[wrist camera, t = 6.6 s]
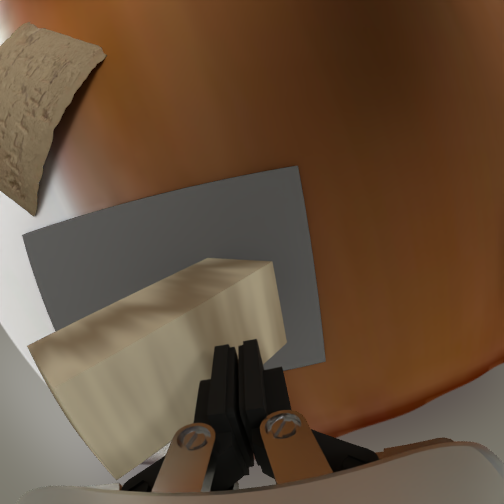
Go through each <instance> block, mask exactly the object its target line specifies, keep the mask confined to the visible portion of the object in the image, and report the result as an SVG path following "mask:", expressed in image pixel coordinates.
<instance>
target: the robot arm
mask: <svg viewBox="0 0 504 504" xmlns="http://www.w3.org/2000/svg"><path fill="white" fill-rule="evenodd" d="M253 453H254V456H255V459H256V461H257V464H258V465H260V466H261V469H262V472H263V473H264V474H266V475H268V476H270V477H272V478H274V479H275V481H276V485H269V486H262V487H255V488H247V489H239V483H238V480H240V479H241V478H242V477H243V476H244V475H249V467H252V466H254V457H253ZM16 504H504V463H503V462H502V461H501V460H500V458H499V457H498V456H497V455H495V454H494V453H493V452H492V451H490V449H488V448H487V447H485V446H483V445H481V444H479V443H475V442H467V441H466V442H465V441H457V442H454V441H453V440H451V439H448V438H436V439H432V440H428V441H423V442H418V443H413V444H408V445H402V446H397V447H391V448H384V452H377V453H374V452H373V451H371V450H369V449H367V448H363V447H360V446H357V445H354V444H351V443H348V442H345V441H342V440H339V439H336V438H334V437H331V436H328V435H325V434H323V433H320V432H317V431H315V430H312V429H310V427H309V425H308V423H307V421H306V419H305V418H304V416H303V415H302V414H300V413H299V412H297V411H293V410H291V406H290V401H289V397H288V392H287V387H286V383H285V378H284V373H283V369H282V366H281V367H277V368H272V369H267V370H264V367H263V362H262V358H261V354H260V350H259V345H258V341H257V339H253V340H247V341H243V345H240V346H238V356H237V353H236V349H235V347H230V346H229V344H226V345H220V346H215V347H214V355H213V364H212V373H211V379H207V380H201V381H200V383H199V389H198V396H197V402H196V409H195V416H194V422H193V423H192V424H189V425H186V426H184V427H182V428H180V429H179V430H178V431H177V432H176V433H175V435H174V437H173V439H172V441H171V444H170V446H169V449H168V451H167V454H166V456H164V457H163V458H161V459H160V460H158V461H157V462H155V463H154V464H152V465H151V466H149V467H148V468H146V469H145V470H143V471H142V472H140V473H139V474H137V475H136V476H134V477H132V478H131V479H129V480H128V481H127V482H126V483H125V484H124V485H121V484H120V483H113V484H104V485H92V486H77V487H76V486H48V487H41V488H36V489H33V490H30V491H28V492H26V493H25V494H24V495H22V496H21V497H20V499H19V500H18V501H17V502H16Z"/></svg>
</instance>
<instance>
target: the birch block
mask: <svg viewBox="0 0 504 504" xmlns="http://www.w3.org/2000/svg"><path fill="white" fill-rule="evenodd" d="M253 339H257V341H258V345H259V350H260V354H261V358H262V362H263V364H264V363H265V362H266V361H268V360H269V359H270V358H271V357H272V356H273V355H274V354H275V353H276V352H277V351H278V350H280V349H281V348H282V347H283V346H284V345H285V344H286V343H287V340H286V334H285V329H284V323H283V317H282V312H281V306H280V301H279V295H278V289H277V284H276V278H275V273H274V268H273V262H272V261H255V260H236V259H218V258H206V259H204V260H202V261H200V262H198V263H196V264H194V265H192V266H189V267H187V268H185V269H183V270H181V271H179V272H177V273H175V274H173V275H171V276H169V277H166V278H164V279H162V280H160V281H158V282H156V283H154V284H152V285H150V286H148V287H146V288H144V289H142V290H140V291H137V292H135V293H133V294H131V295H129V296H127V297H125V298H123V299H121V300H119V301H117V302H115V303H113V304H111V305H109V306H107V307H105V308H103V309H101V310H98V311H96V312H94V313H92V314H90V315H88V316H86V317H84V318H82V319H80V320H78V321H76V322H74V323H72V324H70V325H68V326H66V327H64V328H62V329H60V330H58V331H56V332H54V333H52V334H50V335H48V336H46V337H44V338H42V339H40V340H38V341H36V342H34V343H32V344H30V345H28V346H27V347H28V349H29V351H30V353H31V355H32V357H33V359H34V361H35V363H36V365H37V367H38V369H39V371H40V373H41V374H42V376H43V378H44V380H45V382H46V384H47V385H48V387H49V389H50V391H51V392H52V394H53V396H54V398H55V399H56V401H57V402H58V404H59V406H60V407H61V409H62V411H63V412H64V414H65V415H66V417H67V418H68V420H69V422H70V423H71V425H72V426H73V428H74V429H75V430H76V432H77V433H78V434H79V436H80V437H81V438H82V439H83V441H84V442H85V443H86V445H87V446H88V447H89V448H90V450H91V451H92V452H93V454H94V455H95V456H96V457H97V458H98V460H99V461H100V462H101V463H102V464H103V465H104V467H105V468H106V469H107V470H108V471H109V472H110V473H111V475H112V476H113V477H114V478H115V479H116V480H118V479H119V478H121V477H122V476H123V475H125V474H126V473H128V472H129V471H131V470H132V469H134V468H135V467H136V466H138V465H139V464H141V463H142V462H144V461H145V460H146V459H148V458H149V457H150V456H152V455H153V454H155V453H156V452H157V451H159V450H160V449H161V448H163V447H164V446H165V445H167V444H168V443H169V442H171V441H172V439H173V437H174V435H175V433H176V432H177V431H178V430H179V429H180V428H182V427H184V426H186V425H189V424H192V423H193V422H194V416H195V409H196V402H197V396H198V389H199V383H200V381H201V380H207V379H211V373H212V364H213V355H214V347H215V346H220V345H226V344H229V346H230V347H235V349H236V353H237V356H238V346H240V345H243V341H247V340H253Z"/></svg>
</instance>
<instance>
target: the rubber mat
mask: <svg viewBox="0 0 504 504" xmlns="http://www.w3.org/2000/svg"><path fill="white" fill-rule="evenodd" d="M22 236H23V240H24V243H25V247H26V250H27V254H28V257H29V260H30V264H31V267H32V270H33V273H34V276H35V279H36V282H37V285H38V288H39V291H40V293H41V296H42V299H43V301H44V304H45V307H46V309H47V312H48V314H49V317H50V319H51V322H52V324H53V326H54V329H55V331H58V330H60V329H62V328H64V327H66V326H68V325H70V324H72V323H74V322H76V321H78V320H80V319H82V318H84V317H86V316H88V315H90V314H92V313H94V312H96V311H98V310H101V309H103V308H105V307H107V306H109V305H111V304H113V303H115V302H117V301H119V300H121V299H123V298H125V297H127V296H129V295H131V294H133V293H135V292H137V291H140V290H142V289H144V288H146V287H148V286H150V285H152V284H154V283H156V282H158V281H160V280H162V279H164V278H166V277H169V276H171V275H173V274H175V273H177V272H179V271H181V270H183V269H185V268H187V267H189V266H192V265H194V264H196V263H198V262H200V261H202V260H204V259H206V258H218V259H236V260H255V261H272V262H273V268H274V273H275V278H276V284H277V289H278V295H279V301H280V306H281V312H282V317H283V323H284V329H285V334H286V340H287V343H286V344H285V345H284V346H283V347H282V348H281V349H280V350H278V351H277V352H276V353H275V354H274V355H273V356H272V357H271V358H270V359H269V360H268V361H266V362H265V363H264V364H263V367H264V370H267V369H272V368H277V367H281V366H282V369H283V371H285V370H289V369H294V368H299V367H303V366H308V365H312V364H317V363H321V362H325V350H324V341H323V332H322V323H321V314H320V306H319V298H318V290H317V282H316V275H315V268H314V261H313V254H312V247H311V240H310V234H309V227H308V221H307V215H306V209H305V203H304V197H303V191H302V185H301V180H300V174H299V169H298V166H292V167H286V168H280V169H275V170H269V171H264V172H259V173H253V174H248V175H243V176H238V177H233V178H228V179H224V180H219V181H214V182H210V183H205V184H201V185H196V186H192V187H187V188H183V189H179V190H175V191H171V192H167V193H162V194H158V195H154V196H151V197H147V198H143V199H139V200H135V201H131V202H128V203H124V204H120V205H117V206H113V207H109V208H106V209H102V210H99V211H96V212H92V213H89V214H85V215H82V216H79V217H75V218H72V219H69V220H66V221H63V222H59V223H56V224H53V225H50V226H47V227H44V228H41V229H38V230H35V231H32V232H29V233H26V234H24V235H22Z"/></svg>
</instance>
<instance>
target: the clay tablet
mask: <svg viewBox="0 0 504 504" xmlns="http://www.w3.org/2000/svg"><path fill="white" fill-rule="evenodd" d="M105 56H107V55H105V54H104V53H103V51H102V48H101V47H99V46H98V45H94V44H91V43H87V42H84V41H82V40H78V39H74V38H72V37H70V36H67V35H64V34H61V33H56V32H54V31H51V30H47V29H45V28H37V27H36V26H35V25H33V24H30V22H28V23H25V24H23V25H22V26H21V27H19V28H18V29H17V30H16V31H15V32H14V33H13V34H12V35H11V37H10V38H8V39H7V40H6V41H5V42H4V43H3V44H2V45H1V46H0V191H2V192H3V193H4V194H5V195H7V196H8V197H9V198H11V199H12V200H13V201H15V202H16V203H17V204H18V205H20V206H21V207H22V208H24V209H25V210H27V211H28V212H29V213H30V214H31V215H32V216H35V214H36V211H37V204H38V203H37V198H38V197H37V192H38V189H39V184H38V183H39V181H40V179H41V177H42V174H43V167H42V166H43V165H44V164H45V160H46V158H47V155H48V152H49V149H50V146H51V143H52V140H53V130H54V128H55V127H56V126H57V124H58V123H59V121H60V120H61V116H62V114H63V113H64V111H65V108H66V107H67V106H68V105H69V104H70V103H71V101H72V98H73V96H74V93H75V92H76V91H77V89H78V88H79V87H80V86H81V85H82V82H83V81H84V80H85V79H86V78H87V76H88V74H89V73H90V72H91V70H92V68H95V67H96V64H97V63H99V62H101V61H103V59H104V58H105Z"/></svg>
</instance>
